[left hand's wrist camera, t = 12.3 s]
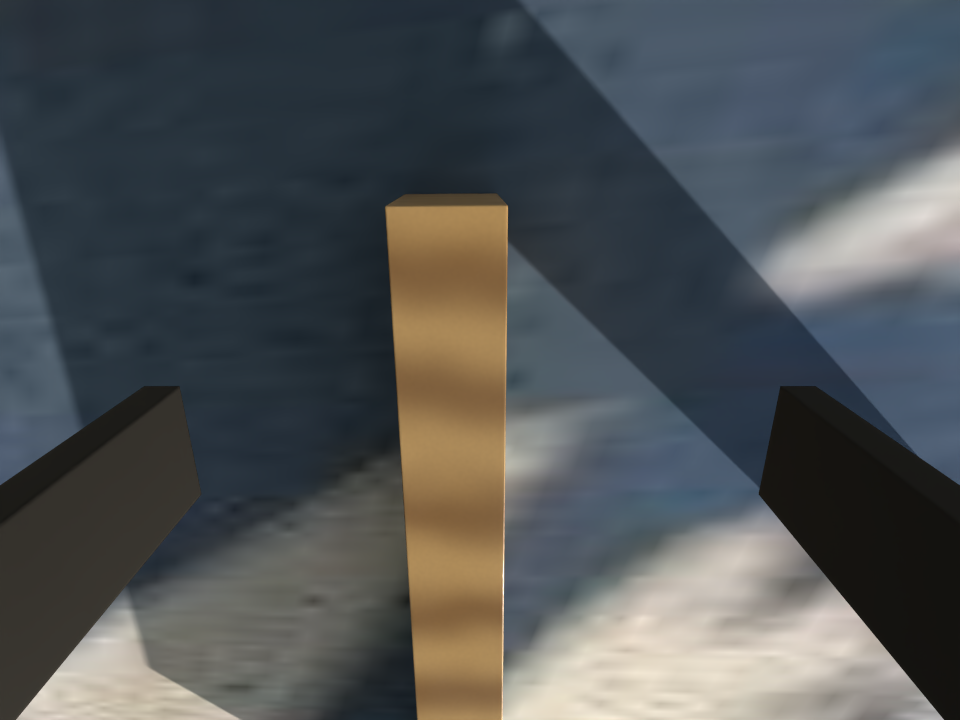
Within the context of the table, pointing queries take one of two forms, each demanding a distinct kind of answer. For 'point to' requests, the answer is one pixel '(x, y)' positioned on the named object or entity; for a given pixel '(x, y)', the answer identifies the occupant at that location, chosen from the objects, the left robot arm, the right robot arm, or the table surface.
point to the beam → (452, 441)
